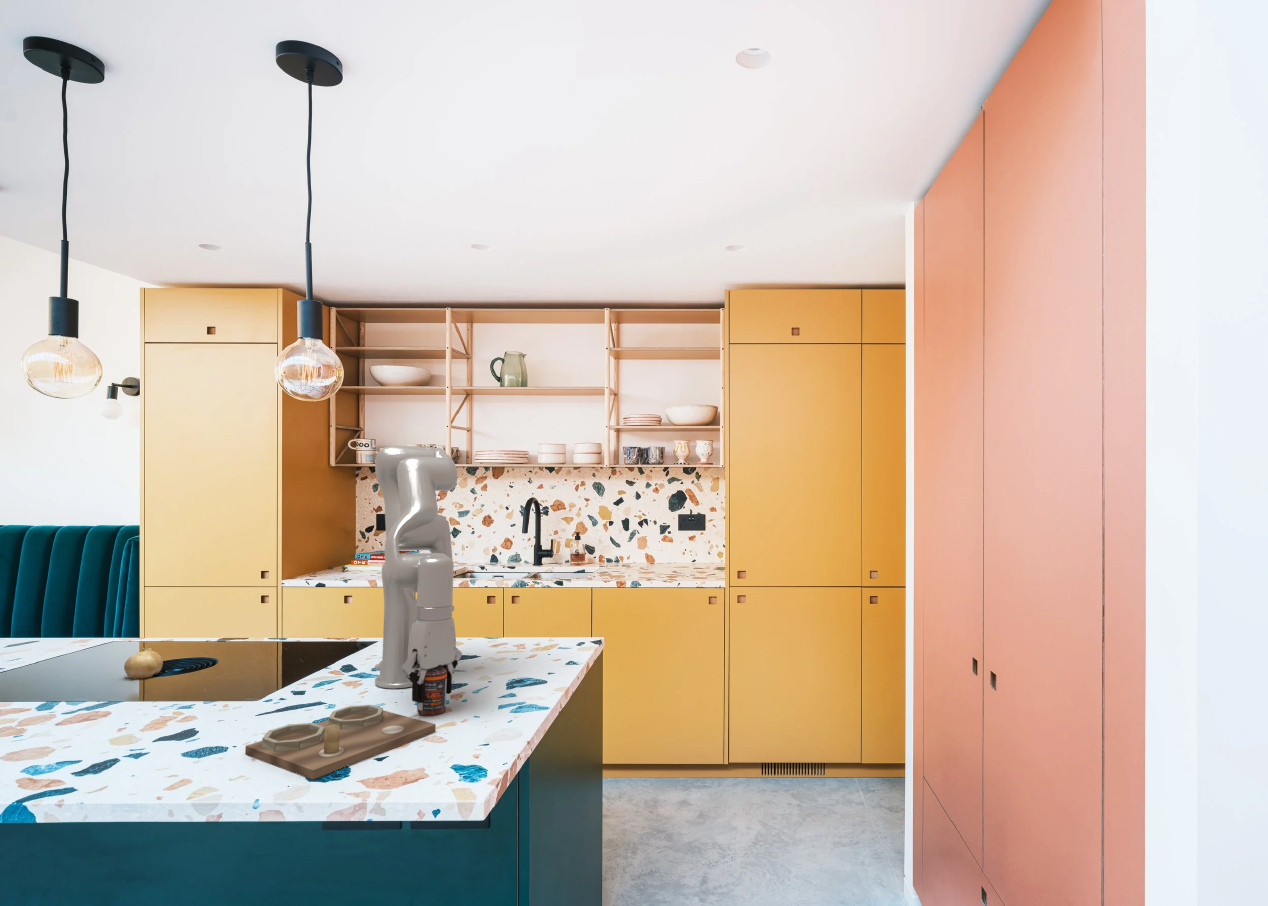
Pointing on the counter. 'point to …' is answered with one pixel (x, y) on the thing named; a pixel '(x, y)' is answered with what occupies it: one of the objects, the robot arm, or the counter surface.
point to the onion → (143, 664)
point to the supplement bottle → (434, 692)
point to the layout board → (346, 741)
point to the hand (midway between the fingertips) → (432, 696)
